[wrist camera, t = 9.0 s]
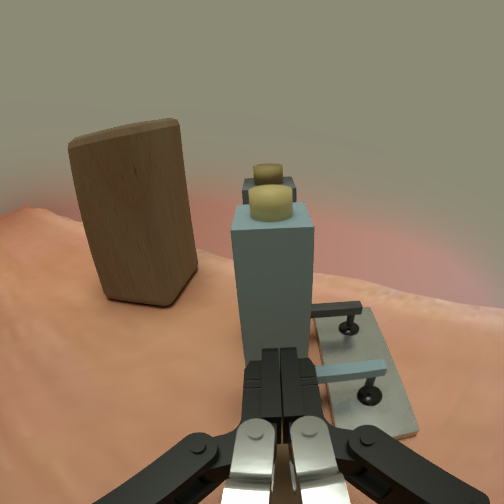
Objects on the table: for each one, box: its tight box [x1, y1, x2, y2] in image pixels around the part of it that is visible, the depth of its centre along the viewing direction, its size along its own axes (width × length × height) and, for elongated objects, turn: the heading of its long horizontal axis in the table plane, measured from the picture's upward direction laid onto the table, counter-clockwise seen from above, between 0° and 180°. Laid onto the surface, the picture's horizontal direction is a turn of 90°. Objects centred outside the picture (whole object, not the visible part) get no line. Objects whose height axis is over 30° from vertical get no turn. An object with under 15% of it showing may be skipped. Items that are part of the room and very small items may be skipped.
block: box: [68, 118, 198, 306], centre depth 33 cm, size 10×10×20 cm
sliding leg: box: [231, 185, 387, 388], centre depth 17 cm, size 4×10×15 cm, turn 88°
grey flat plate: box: [313, 307, 419, 440], centre depth 22 cm, size 15×6×1 cm, turn 178°
